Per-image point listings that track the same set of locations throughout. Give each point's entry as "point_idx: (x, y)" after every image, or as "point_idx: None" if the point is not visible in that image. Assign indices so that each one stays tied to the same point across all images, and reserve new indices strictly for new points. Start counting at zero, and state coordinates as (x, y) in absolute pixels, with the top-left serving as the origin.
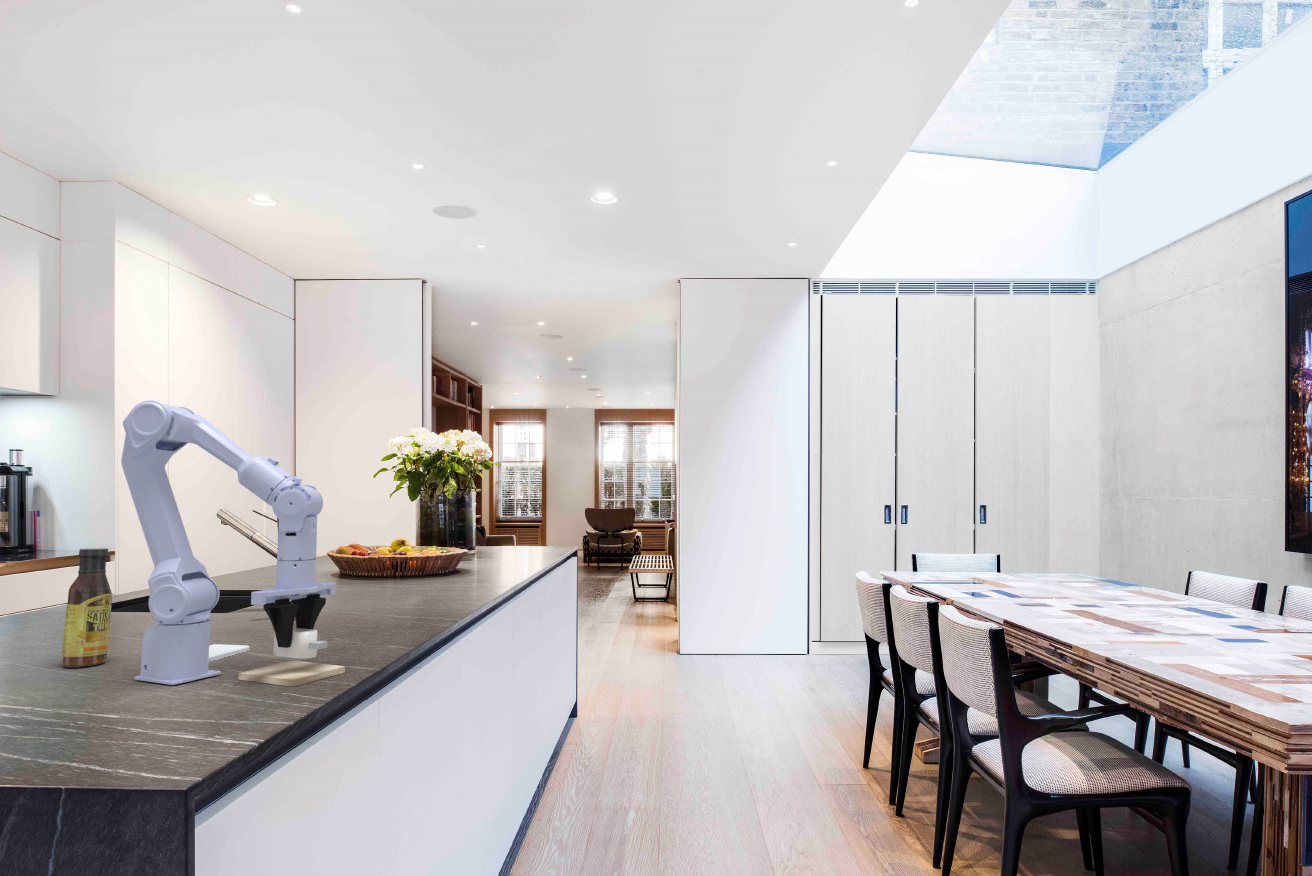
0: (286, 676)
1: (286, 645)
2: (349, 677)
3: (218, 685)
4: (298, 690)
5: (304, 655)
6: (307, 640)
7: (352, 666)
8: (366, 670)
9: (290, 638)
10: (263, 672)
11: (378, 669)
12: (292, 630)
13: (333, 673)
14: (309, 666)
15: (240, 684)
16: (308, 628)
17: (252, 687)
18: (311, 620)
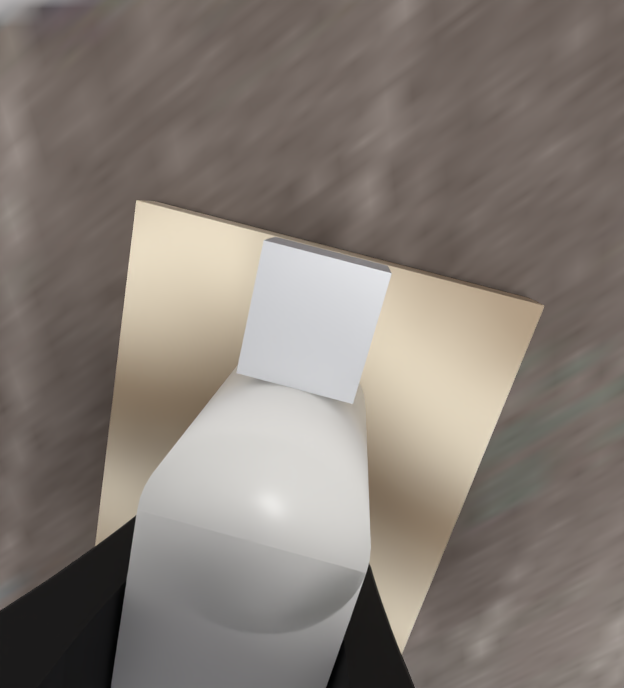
0: (453, 401)
1: (373, 579)
2: (254, 90)
3: (506, 657)
4: (611, 212)
5: (359, 392)
6: (348, 433)
7: (5, 257)
8: (62, 96)
9: (363, 605)
10: (373, 569)
11: (14, 24)
12: (354, 672)
13: (236, 224)
14: (193, 420)
15: (482, 583)
16: (112, 603)
17: (541, 500)
18: (38, 670)
